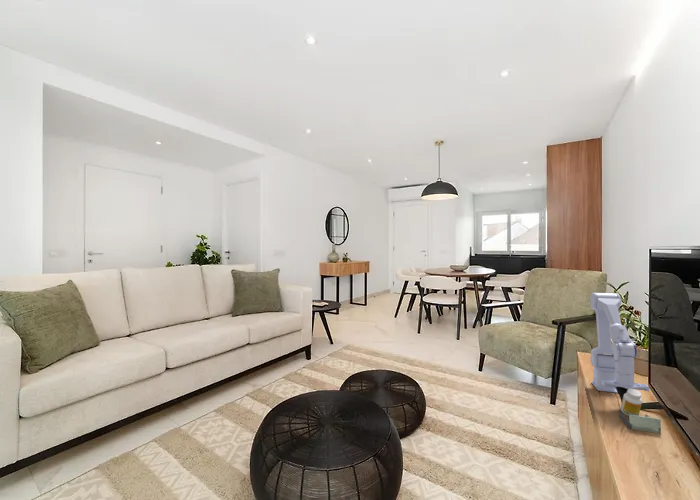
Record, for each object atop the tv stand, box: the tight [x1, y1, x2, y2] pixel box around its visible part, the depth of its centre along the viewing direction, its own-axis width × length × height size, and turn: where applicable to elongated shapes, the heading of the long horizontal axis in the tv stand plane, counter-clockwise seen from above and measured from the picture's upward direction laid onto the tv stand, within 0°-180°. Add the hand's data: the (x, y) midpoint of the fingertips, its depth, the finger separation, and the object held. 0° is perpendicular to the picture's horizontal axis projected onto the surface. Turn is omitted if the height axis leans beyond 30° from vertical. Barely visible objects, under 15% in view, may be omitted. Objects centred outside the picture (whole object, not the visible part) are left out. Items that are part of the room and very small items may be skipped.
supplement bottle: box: [620, 389, 643, 417], centre depth 121 cm, size 5×5×10 cm
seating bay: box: [618, 410, 662, 434], centre depth 116 cm, size 9×9×5 cm
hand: (625, 406), depth 126 cm, fingers closed, pressing on supplement bottle
